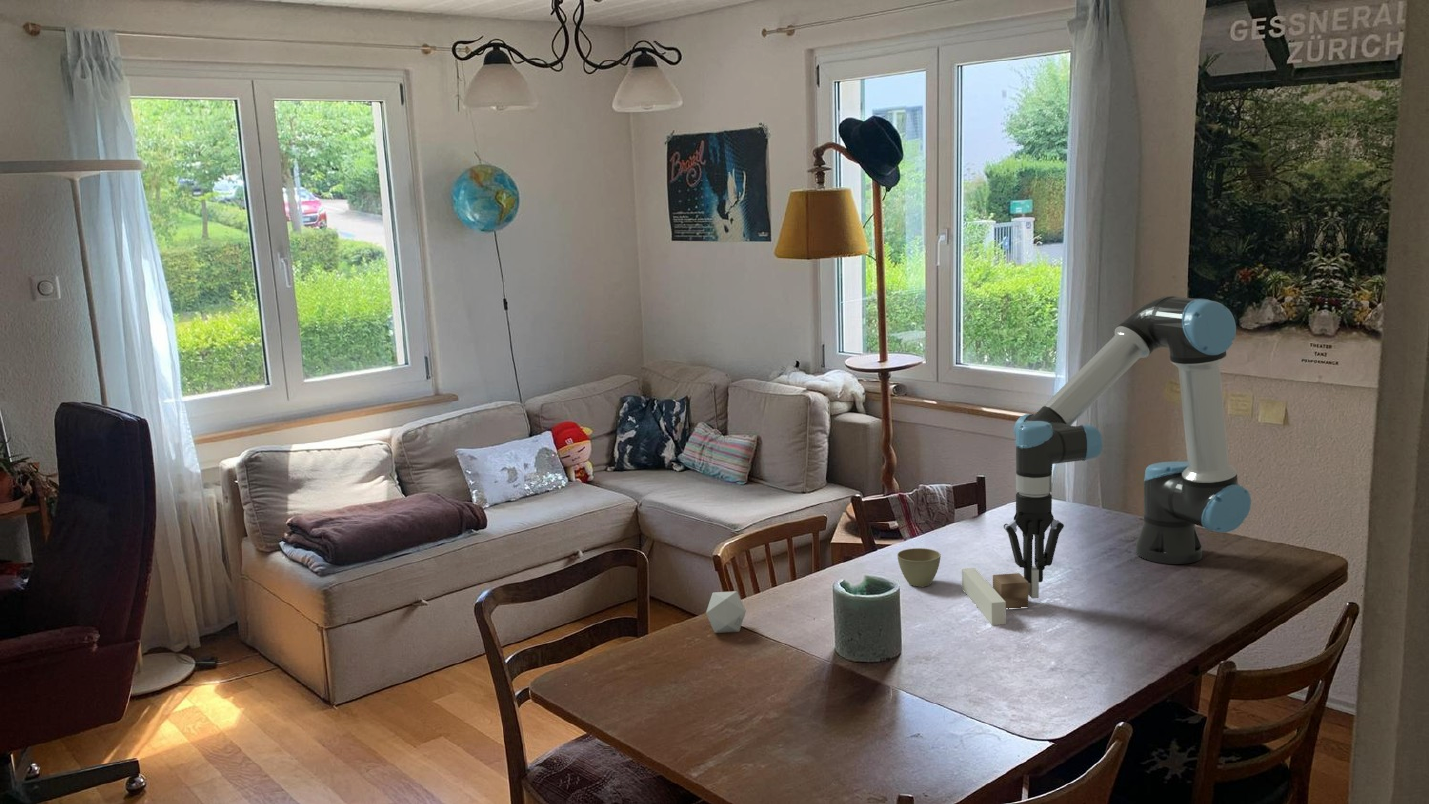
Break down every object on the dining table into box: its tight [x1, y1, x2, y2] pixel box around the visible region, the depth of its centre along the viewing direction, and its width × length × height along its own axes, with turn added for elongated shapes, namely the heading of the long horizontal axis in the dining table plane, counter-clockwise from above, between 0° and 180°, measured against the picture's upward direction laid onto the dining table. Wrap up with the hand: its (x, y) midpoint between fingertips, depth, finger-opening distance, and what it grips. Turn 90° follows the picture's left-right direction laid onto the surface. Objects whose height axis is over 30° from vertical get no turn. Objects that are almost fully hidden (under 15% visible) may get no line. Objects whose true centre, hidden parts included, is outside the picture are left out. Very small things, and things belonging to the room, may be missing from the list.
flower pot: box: [896, 547, 942, 588], centre depth 259 cm, size 10×10×7 cm
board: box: [961, 567, 1007, 626], centre depth 243 cm, size 3×22×5 cm, turn 4°
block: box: [992, 572, 1029, 609], centre depth 243 cm, size 6×6×6 cm
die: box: [705, 590, 747, 634], centre depth 236 cm, size 8×9×10 cm
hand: (1033, 596), depth 243 cm, fingers closed
